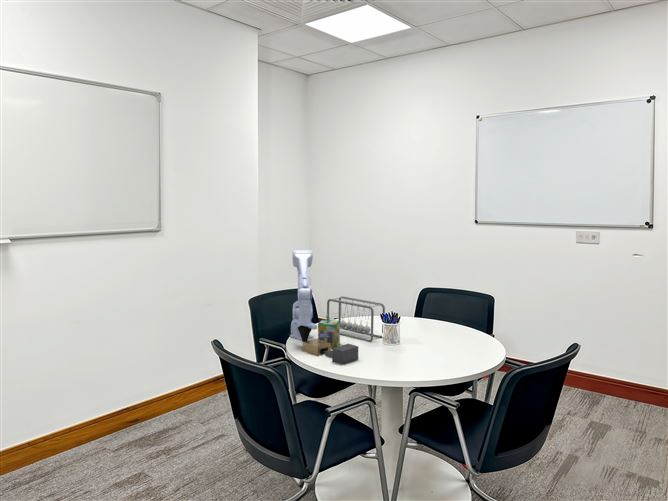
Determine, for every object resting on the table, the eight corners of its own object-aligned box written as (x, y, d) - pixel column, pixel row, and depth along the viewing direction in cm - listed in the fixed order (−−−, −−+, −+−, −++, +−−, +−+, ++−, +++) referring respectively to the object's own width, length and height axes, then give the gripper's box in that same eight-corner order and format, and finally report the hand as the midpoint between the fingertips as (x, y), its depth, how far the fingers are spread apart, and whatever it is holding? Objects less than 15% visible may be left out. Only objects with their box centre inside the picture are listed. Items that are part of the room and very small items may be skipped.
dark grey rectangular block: (319, 357, 225) (319, 344, 224) (335, 352, 232) (335, 339, 231) (342, 365, 215) (342, 351, 215) (358, 359, 222) (358, 346, 222)
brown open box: (302, 351, 234) (302, 341, 234) (315, 347, 240) (315, 338, 239) (317, 356, 227) (317, 346, 227) (330, 352, 233) (330, 342, 232)
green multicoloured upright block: (336, 349, 238) (337, 317, 236) (317, 347, 240) (317, 316, 238) (340, 343, 247) (340, 313, 245) (321, 342, 249) (322, 312, 247)
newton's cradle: (326, 331, 268) (326, 298, 266) (339, 327, 276) (339, 295, 274) (372, 343, 248) (372, 307, 246) (384, 338, 256) (385, 303, 254)
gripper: (288, 311, 240) (288, 340, 241) (309, 317, 229) (308, 346, 231) (299, 309, 245) (299, 337, 246) (320, 314, 234) (320, 343, 236)
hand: (304, 341), depth 239 cm, fingers closed
